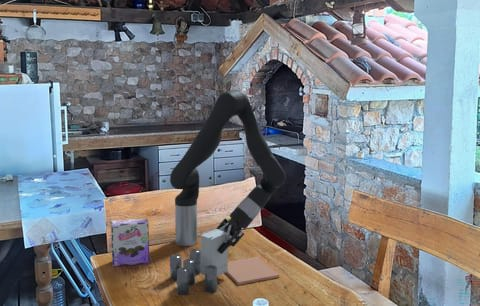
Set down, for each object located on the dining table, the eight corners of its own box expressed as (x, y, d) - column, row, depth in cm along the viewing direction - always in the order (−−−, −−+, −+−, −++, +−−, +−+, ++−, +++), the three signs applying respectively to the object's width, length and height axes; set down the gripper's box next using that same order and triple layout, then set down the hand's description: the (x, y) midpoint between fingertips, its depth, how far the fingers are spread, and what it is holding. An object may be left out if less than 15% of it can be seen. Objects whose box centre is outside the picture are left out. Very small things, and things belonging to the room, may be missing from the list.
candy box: (112, 267, 178) (110, 224, 176) (112, 261, 184) (110, 220, 181) (149, 263, 182) (148, 222, 179) (148, 257, 188) (147, 217, 185)
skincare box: (216, 267, 174) (216, 228, 171) (228, 272, 170) (228, 232, 167) (199, 274, 168) (199, 233, 165) (211, 279, 164) (211, 238, 161)
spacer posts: (164, 274, 172) (164, 253, 171) (199, 268, 178) (198, 248, 176) (181, 298, 154) (180, 275, 153) (218, 291, 159) (218, 269, 158)
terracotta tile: (219, 265, 181) (219, 263, 181) (257, 259, 187) (257, 256, 187) (238, 285, 164) (238, 282, 164) (279, 277, 171) (279, 274, 171)
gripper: (231, 201, 175) (201, 235, 173) (247, 211, 162) (215, 249, 160) (244, 213, 178) (214, 247, 176) (261, 224, 165) (230, 261, 163)
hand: (215, 248), depth 168 cm, fingers closed on skincare box, 7 cm apart
